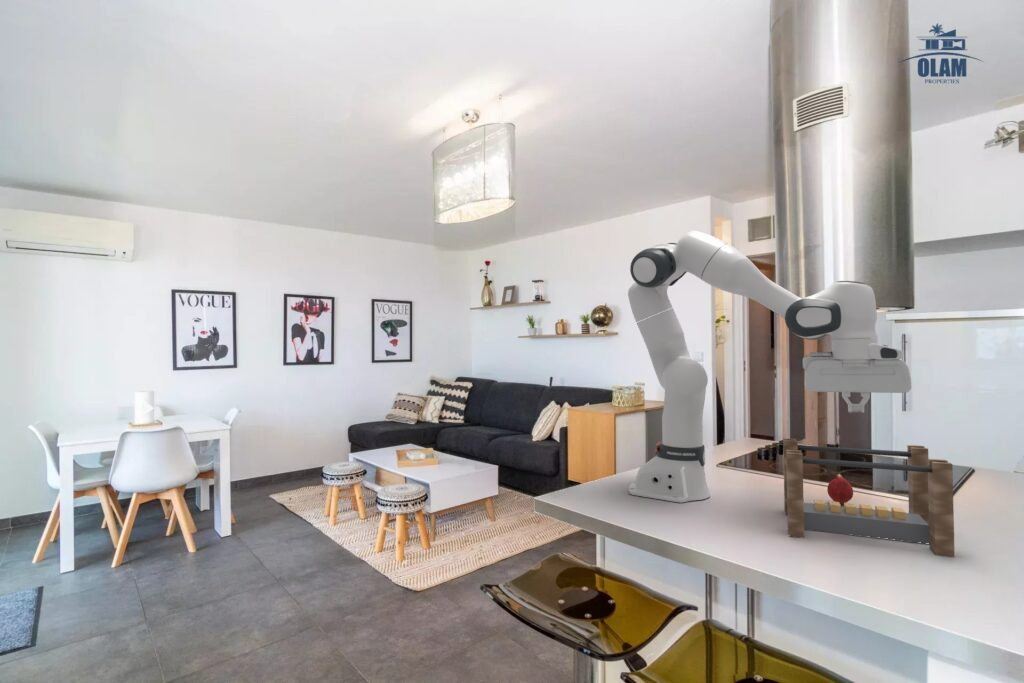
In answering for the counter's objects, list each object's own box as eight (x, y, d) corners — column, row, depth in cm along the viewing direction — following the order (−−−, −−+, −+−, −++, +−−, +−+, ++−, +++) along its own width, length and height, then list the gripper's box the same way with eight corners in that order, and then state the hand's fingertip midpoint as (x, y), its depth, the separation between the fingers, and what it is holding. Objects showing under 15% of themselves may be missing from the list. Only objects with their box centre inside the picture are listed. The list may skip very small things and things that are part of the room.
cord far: (788, 449, 130) (788, 444, 130) (787, 448, 131) (787, 444, 131) (924, 458, 118) (924, 453, 118) (923, 457, 120) (922, 452, 120)
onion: (857, 508, 133) (856, 477, 133) (833, 507, 134) (832, 477, 134) (847, 502, 138) (847, 472, 138) (824, 501, 140) (823, 471, 140)
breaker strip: (799, 528, 119) (799, 504, 119) (797, 518, 126) (796, 495, 126) (929, 544, 109) (929, 517, 109) (918, 531, 116) (918, 506, 116)
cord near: (792, 462, 116) (791, 457, 116) (791, 461, 117) (791, 456, 117) (947, 474, 104) (947, 468, 104) (945, 473, 105) (945, 467, 105)
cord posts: (788, 536, 115) (787, 453, 115) (784, 509, 133) (783, 438, 133) (954, 557, 102) (952, 464, 103) (924, 524, 120) (923, 445, 121)
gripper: (803, 352, 120) (805, 412, 119) (912, 350, 111) (914, 415, 111) (801, 352, 125) (802, 409, 125) (904, 350, 117) (906, 411, 116)
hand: (856, 412), depth 118 cm, fingers closed
